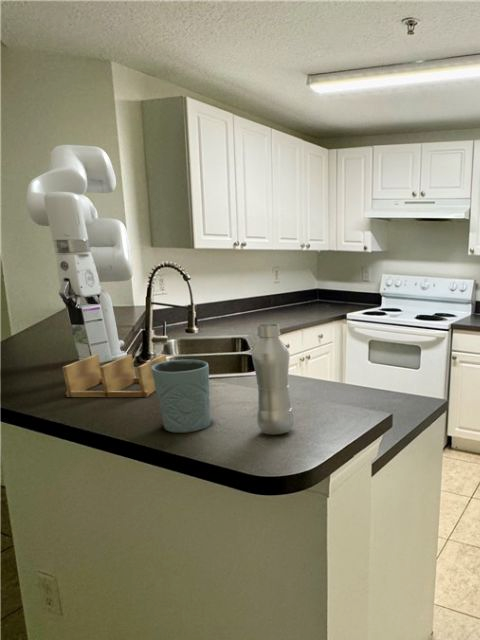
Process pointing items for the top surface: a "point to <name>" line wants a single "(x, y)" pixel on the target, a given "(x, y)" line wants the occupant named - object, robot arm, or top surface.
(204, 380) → the blue embossed cup
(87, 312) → the syrup box
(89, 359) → the wooden shelf rack
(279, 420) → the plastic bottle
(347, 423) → the top surface
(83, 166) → the robot arm
